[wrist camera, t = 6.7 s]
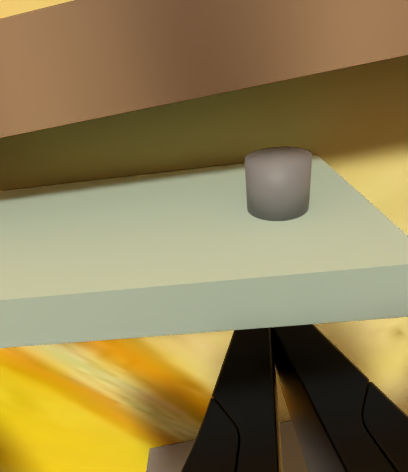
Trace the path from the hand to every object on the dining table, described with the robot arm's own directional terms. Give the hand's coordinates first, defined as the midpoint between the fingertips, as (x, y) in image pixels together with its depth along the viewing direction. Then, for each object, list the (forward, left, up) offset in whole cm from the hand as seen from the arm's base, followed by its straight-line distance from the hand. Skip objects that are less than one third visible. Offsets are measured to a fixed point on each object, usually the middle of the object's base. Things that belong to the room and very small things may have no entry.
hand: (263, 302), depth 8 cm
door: (-3, +3, -4) cm, 6 cm away
